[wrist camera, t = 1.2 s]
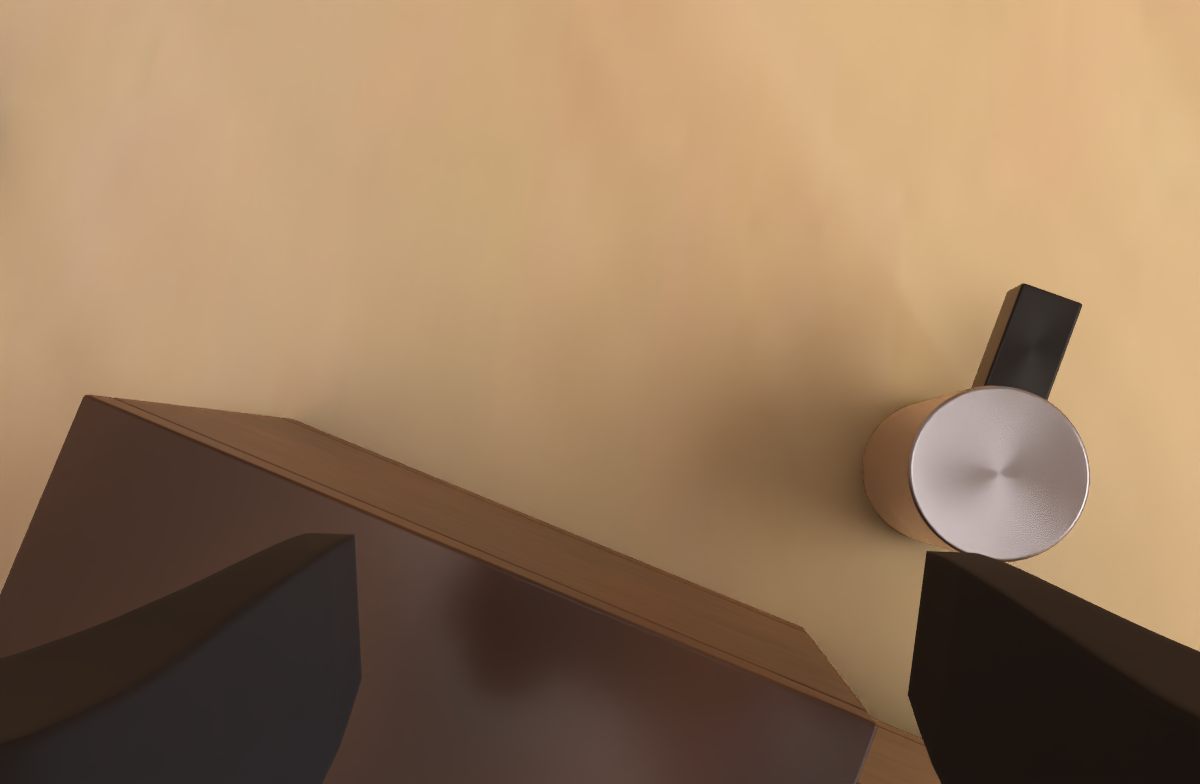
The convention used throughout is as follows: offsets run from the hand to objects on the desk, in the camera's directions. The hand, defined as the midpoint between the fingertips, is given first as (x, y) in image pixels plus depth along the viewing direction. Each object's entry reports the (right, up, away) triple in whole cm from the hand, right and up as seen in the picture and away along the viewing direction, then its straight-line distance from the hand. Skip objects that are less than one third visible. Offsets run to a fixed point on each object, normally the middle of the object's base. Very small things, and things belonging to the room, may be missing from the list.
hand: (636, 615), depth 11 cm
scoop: (+9, +2, +13) cm, 16 cm away
